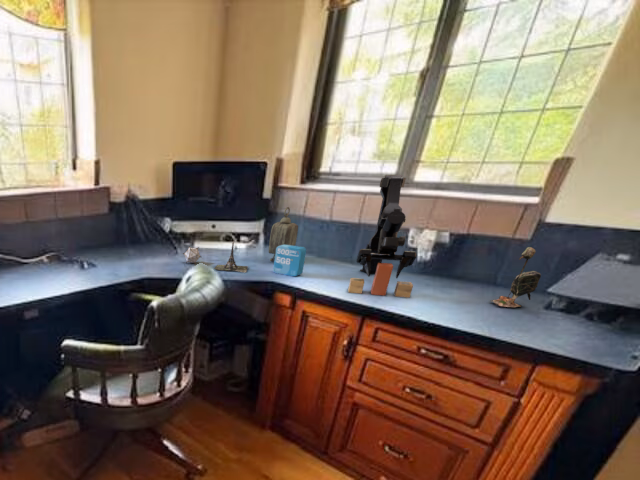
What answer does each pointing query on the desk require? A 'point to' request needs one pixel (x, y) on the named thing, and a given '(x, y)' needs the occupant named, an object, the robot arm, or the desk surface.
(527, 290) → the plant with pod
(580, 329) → the desk surface
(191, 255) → the game die
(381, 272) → the orange rectangular block
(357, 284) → the maple cube
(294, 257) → the data package
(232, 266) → the eiffel tower figurine
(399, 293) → the maple cube
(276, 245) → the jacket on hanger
